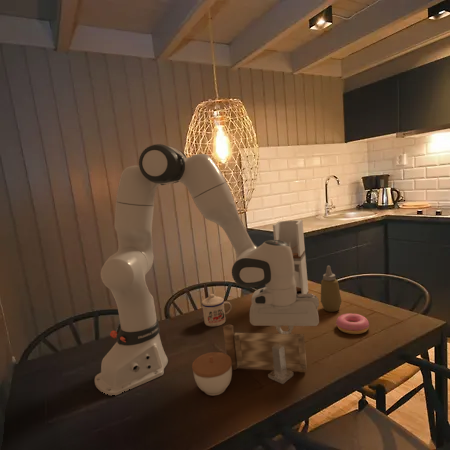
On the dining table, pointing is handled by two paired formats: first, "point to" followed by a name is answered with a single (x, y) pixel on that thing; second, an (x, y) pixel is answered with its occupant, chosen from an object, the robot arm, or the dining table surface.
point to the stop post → (279, 365)
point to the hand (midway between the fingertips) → (285, 338)
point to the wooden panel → (269, 349)
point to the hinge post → (230, 344)
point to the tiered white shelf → (294, 249)
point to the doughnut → (352, 323)
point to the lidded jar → (212, 372)
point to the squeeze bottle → (330, 292)
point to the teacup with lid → (214, 310)
